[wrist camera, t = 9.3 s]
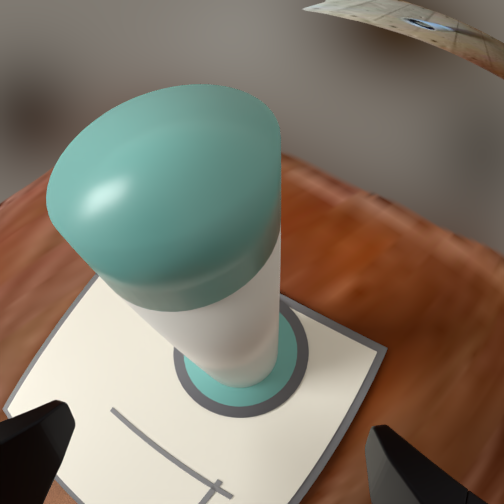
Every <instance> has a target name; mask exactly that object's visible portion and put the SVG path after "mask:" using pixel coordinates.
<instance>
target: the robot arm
mask: <svg viewBox="0 0 504 504" xmlns="http://www.w3.org/2000/svg"><path fill="white" fill-rule="evenodd" d="M74 429H75V419H74V417H73V415H72V413H71V410H70V408H69V406H68V404H67V403H66V402H63V401H60V400H53V401H51V402H49V403H46V404H44V405H42V406H39V407H37V408H34V409H32V410H30V411H27V412H25V413H22V414H20V415H17V416H15V417H12V418H10V419H7V420H5V421H2V422H0V504H43V502H44V500H45V498H46V496H47V494H48V491H49V489H50V487H51V485H52V483H53V481H54V479H55V476H56V474H57V472H58V470H59V468H60V466H61V464H62V461H63V459H64V456H65V453H66V451H67V448H68V445H69V442H70V440H71V437H72V434H73V432H74ZM365 455H366V463H367V472H368V481H369V490H370V497H371V502H372V504H488V503H486V502H485V501H483V500H482V499H480V498H479V497H478V496H476V495H475V494H473V493H472V492H471V491H468V489H467V488H465V487H464V486H463V485H461V484H460V483H459V482H457V481H456V480H455V479H453V478H452V477H451V476H450V475H448V474H447V473H446V472H444V471H443V470H442V469H441V468H439V467H438V466H437V465H436V464H434V463H433V462H432V461H430V460H429V459H428V458H427V457H425V456H424V455H423V454H422V453H420V452H419V451H418V450H417V449H416V448H414V447H413V446H412V445H411V444H409V443H408V442H407V441H406V440H404V439H403V438H402V437H401V436H400V435H398V434H397V433H396V432H395V431H394V430H392V429H391V428H390V427H389V426H387V425H378V426H373V427H372V428H371V429H370V432H369V436H368V439H367V442H366V446H365Z"/></svg>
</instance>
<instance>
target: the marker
mask: <svg viewBox="0 0 504 504" xmlns="http://www.w3.org/2000/svg"><path fill="white" fill-rule="evenodd" d="M46 201H47V210H48V214H49V217H50V219H51V221H52V223H53V225H54V226H55V227H56V229H57V230H58V231H59V232H60V234H61V235H62V236H63V237H64V238H65V239H66V240H67V242H68V243H69V244H70V245H71V246H72V247H73V248H74V249H75V251H76V252H77V253H78V254H79V255H80V256H81V257H82V258H83V259H84V260H85V262H86V263H87V264H88V265H89V266H90V267H91V268H92V269H93V270H94V271H95V272H96V273H97V274H98V275H99V276H100V277H101V278H102V279H103V280H104V282H105V283H106V284H107V285H108V286H109V287H110V288H111V289H112V290H113V291H114V292H115V293H116V294H117V295H118V296H119V297H120V298H122V299H123V300H124V301H125V302H126V303H127V304H128V305H129V306H130V307H131V308H132V309H133V310H134V311H135V312H136V313H137V314H138V315H139V316H140V317H142V318H143V319H144V320H145V321H146V322H147V323H148V324H149V325H150V326H151V327H152V328H154V329H155V330H156V331H157V332H158V333H159V334H160V335H161V336H163V337H164V338H165V339H166V340H167V341H168V342H169V343H171V344H172V345H173V346H174V347H175V348H176V349H178V350H179V351H180V352H181V353H182V354H184V355H185V356H186V357H187V358H188V359H190V360H191V361H192V362H193V363H195V364H196V365H197V366H198V367H199V368H201V369H202V370H203V371H204V372H206V373H207V374H208V375H210V376H211V377H212V378H213V379H215V380H216V381H217V382H219V383H221V384H223V385H225V386H228V387H233V388H245V387H250V386H253V385H255V384H257V383H259V382H261V381H262V380H264V379H265V378H266V377H267V376H268V375H269V374H270V373H271V371H272V370H273V368H274V366H275V363H276V360H277V356H278V334H279V300H280V250H281V136H280V127H279V125H278V122H277V119H276V117H275V116H274V114H273V112H272V111H271V110H270V109H269V108H268V107H267V106H266V105H265V104H264V103H263V102H262V101H260V100H259V99H258V98H256V97H254V96H252V95H250V94H248V93H246V92H243V91H241V90H238V89H234V88H230V87H226V86H219V85H209V84H193V85H181V86H175V87H169V88H165V89H160V90H156V91H153V92H150V93H147V94H144V95H141V96H138V97H136V98H133V99H131V100H129V101H127V102H124V103H122V104H120V105H119V106H117V107H115V108H113V109H111V110H110V111H108V112H106V113H105V114H103V115H102V116H100V117H99V118H98V119H96V120H95V121H93V122H92V123H91V124H90V125H89V126H87V127H86V128H85V129H84V130H83V131H82V132H81V133H80V134H79V135H78V136H77V137H76V138H75V139H74V140H73V141H72V142H71V143H70V144H69V146H68V147H67V148H66V150H65V151H64V152H63V154H62V155H61V156H60V158H59V160H58V162H57V163H56V165H55V167H54V169H53V172H52V174H51V176H50V180H49V183H48V187H47V195H46Z"/></svg>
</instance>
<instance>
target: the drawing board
mask: <svg viewBox="0 0 504 504" xmlns="http://www.w3.org/2000/svg"><path fill="white" fill-rule="evenodd" d="M387 349H388V348H386V347H384V346H382V345H380V344H378V343H376V342H374V341H372V340H370V339H368V338H366V337H364V336H362V335H360V334H358V333H356V332H354V331H352V330H350V329H348V328H346V327H344V326H342V325H340V324H338V323H336V322H335V321H333V320H331V319H329V318H327V317H325V316H323V315H321V314H319V313H317V312H315V311H313V310H311V309H309V308H307V307H305V306H303V305H301V304H299V303H297V302H296V301H294V300H292V299H290V298H288V297H286V296H284V295H282V294H280V300H279V334H278V356H277V360H276V363H275V366H274V368H273V370H272V371H271V373H270V374H269V375H268V376H267V377H266V378H265V379H264V380H262V381H261V382H259V383H257V384H255V385H253V386H250V387H245V388H233V387H228V386H225V385H223V384H221V383H219V382H217V381H216V380H215V379H213V378H212V377H211V376H210V375H208V374H207V373H206V372H204V371H203V370H202V369H201V368H199V367H198V366H197V365H196V364H195V363H193V362H192V361H191V360H190V359H188V358H187V357H186V356H185V355H184V354H182V353H181V352H180V351H179V350H178V349H176V348H175V347H174V346H173V345H172V344H171V343H169V342H168V341H167V340H166V339H165V338H164V337H163V336H161V335H160V334H159V333H158V332H157V331H156V330H155V329H154V328H152V327H151V326H150V325H149V324H148V323H147V322H146V321H145V320H144V319H143V318H142V317H140V316H139V315H138V314H137V313H136V312H135V311H134V310H133V309H132V308H131V307H130V306H129V305H128V304H127V303H126V302H125V301H124V300H123V299H122V298H120V297H119V296H118V295H117V294H116V293H115V292H114V291H113V290H112V289H111V288H110V287H109V286H108V285H107V284H106V283H105V282H104V280H103V279H102V278H101V277H100V276H99V275H98V274H97V273H96V274H95V275H94V276H93V278H92V279H91V280H90V281H89V283H88V284H87V285H86V286H85V288H84V289H83V290H82V292H81V293H80V294H79V295H78V297H77V298H76V299H75V301H74V302H73V303H72V305H71V306H70V307H69V309H68V310H67V311H66V313H65V314H64V315H63V317H62V318H61V319H60V321H59V322H58V324H57V325H56V326H55V328H54V329H53V331H52V332H51V333H50V335H49V336H48V338H47V339H46V341H45V342H44V344H43V345H42V346H41V348H40V349H39V351H38V352H37V354H36V355H35V357H34V358H33V360H32V361H31V363H30V365H29V366H28V368H27V369H26V371H25V372H24V374H23V376H22V377H21V379H20V380H19V382H18V384H17V385H16V387H15V389H14V390H13V392H12V394H11V395H10V397H9V399H8V400H7V402H6V404H5V406H4V407H3V411H4V412H5V414H6V415H7V417H8V418H9V419H10V418H12V417H15V416H17V415H20V414H22V413H25V412H27V411H30V410H32V409H34V408H37V407H39V406H42V405H44V404H46V403H49V402H51V401H53V400H60V401H63V402H66V403H67V404H68V406H69V408H70V410H71V413H72V415H73V417H74V419H75V429H74V432H73V434H72V437H71V440H70V442H69V445H68V448H67V451H66V453H65V456H64V459H63V461H62V464H61V466H60V468H59V470H58V472H57V474H56V476H55V480H56V481H57V482H58V483H59V484H60V485H61V487H62V488H63V489H64V490H65V491H66V492H67V493H68V494H69V495H70V496H71V497H72V498H73V499H74V500H75V501H76V502H77V503H78V504H299V502H300V501H301V500H302V498H303V497H304V496H305V494H306V493H307V492H308V490H309V489H310V487H311V486H312V484H313V483H314V482H315V480H316V479H317V477H318V476H319V474H320V473H321V471H322V470H323V468H324V467H325V465H326V464H327V462H328V460H329V459H330V457H331V456H332V454H333V453H334V451H335V449H336V448H337V446H338V444H339V443H340V441H341V439H342V438H343V436H344V434H345V433H346V431H347V429H348V427H349V426H350V424H351V422H352V420H353V418H354V417H355V415H356V413H357V411H358V409H359V407H360V405H361V403H362V402H363V400H364V398H365V396H366V394H367V392H368V390H369V388H370V386H371V384H372V382H373V380H374V377H375V375H376V373H377V371H378V369H379V367H380V365H381V362H382V360H383V358H384V356H385V353H386V351H387Z"/></svg>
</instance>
